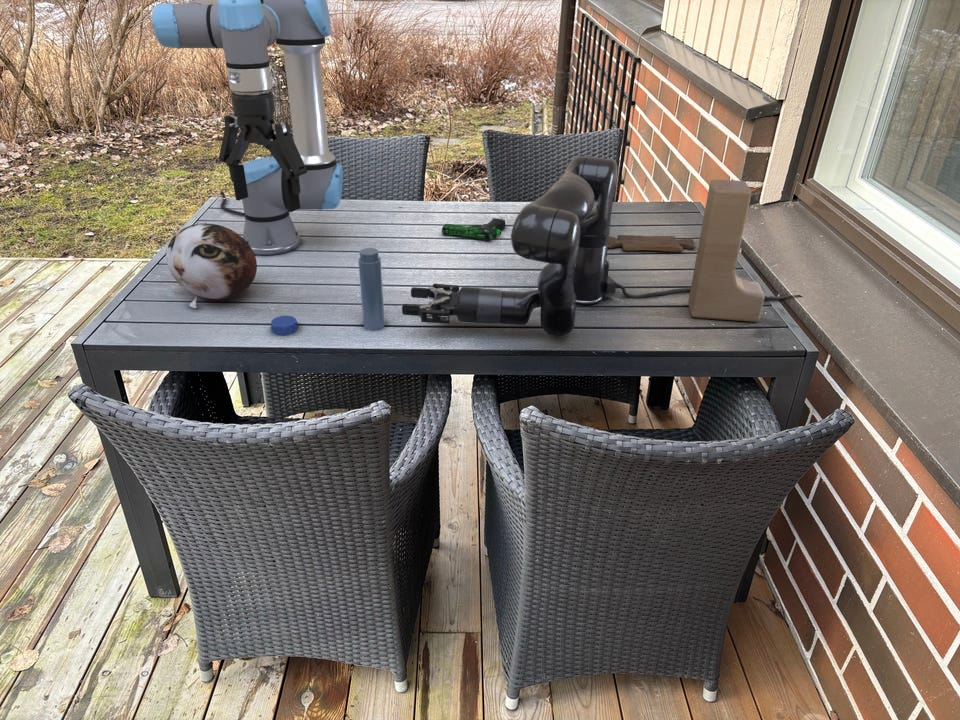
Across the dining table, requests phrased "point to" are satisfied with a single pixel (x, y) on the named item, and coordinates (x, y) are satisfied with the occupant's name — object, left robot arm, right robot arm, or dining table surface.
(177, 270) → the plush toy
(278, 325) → the lid
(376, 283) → the blue-grey bottle
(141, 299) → the dining table surface
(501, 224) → the handgun
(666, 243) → the wooden paddle board
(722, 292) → the decorative block
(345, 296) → the dining table surface
